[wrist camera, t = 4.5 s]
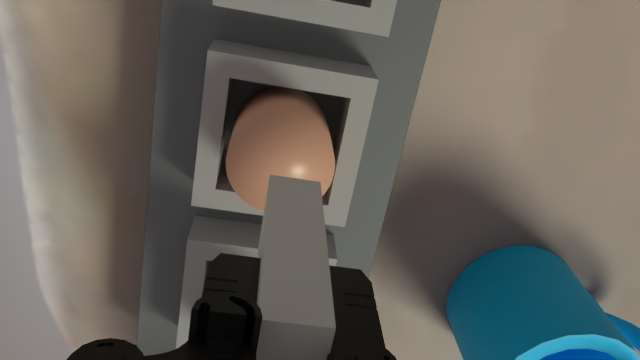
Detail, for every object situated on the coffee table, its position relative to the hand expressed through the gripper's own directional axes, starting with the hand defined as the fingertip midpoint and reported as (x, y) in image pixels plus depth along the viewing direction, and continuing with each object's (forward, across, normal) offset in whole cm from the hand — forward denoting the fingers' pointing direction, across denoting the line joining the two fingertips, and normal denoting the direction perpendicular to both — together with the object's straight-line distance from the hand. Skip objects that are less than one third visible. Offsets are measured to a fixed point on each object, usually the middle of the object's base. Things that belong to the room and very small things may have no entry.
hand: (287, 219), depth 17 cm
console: (+14, 0, -1) cm, 14 cm away
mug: (+14, +18, -11) cm, 25 cm away
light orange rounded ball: (+10, 0, -1) cm, 10 cm away
